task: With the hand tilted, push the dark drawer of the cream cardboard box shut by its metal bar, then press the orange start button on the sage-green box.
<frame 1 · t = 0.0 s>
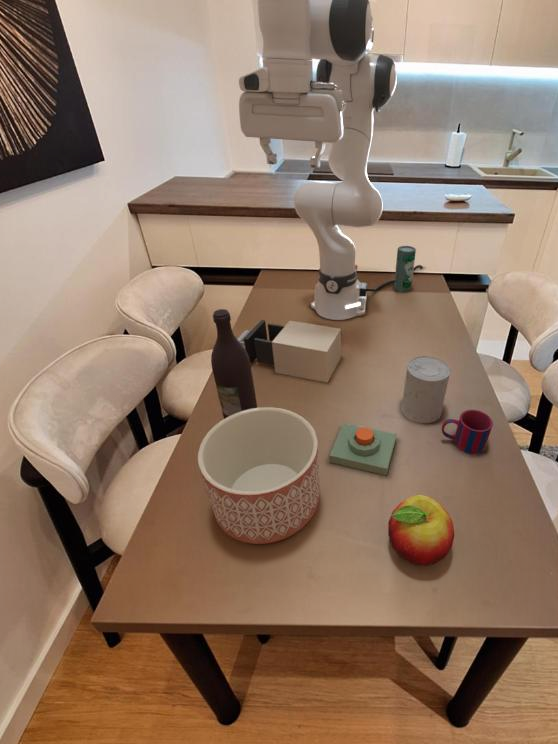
hand: (293, 165, 81), 48 cm above the table, tool pointing down, fingers open, 8 cm apart
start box: (363, 451, 85), on the table
fruit: (417, 545, 68), on the table
can: (402, 289, 149), on the table
start button: (364, 436, 82), point 4 cm above the table, slide at 0.1 cm
drawer: (270, 344, 108), point 5 cm above the table, slide at 7.0 cm
cream cardboard box: (308, 365, 109), on the table
planter: (268, 501, 74), on the table
wine bottle: (245, 436, 87), on the table
gray concrete cylinder: (421, 410, 96), on the table
mug: (461, 442, 88), on the table
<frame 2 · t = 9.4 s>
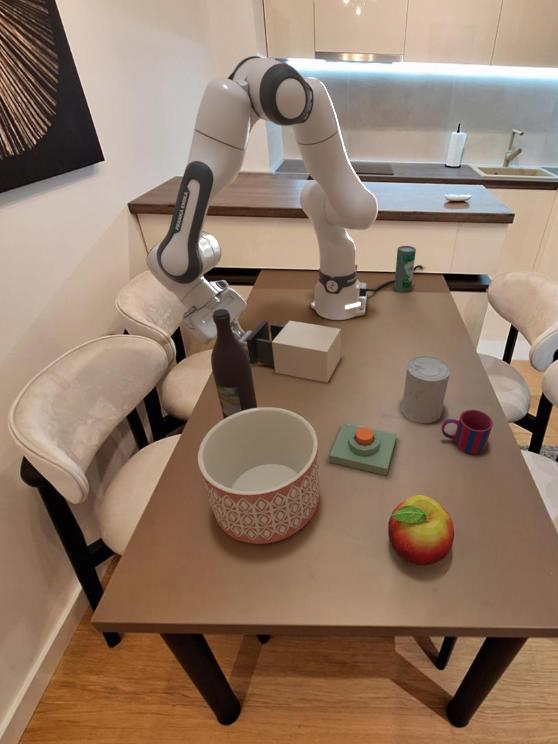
hand: (241, 337, 109), 5 cm above the table, tool tilted 45°, fingers closed, pressing on drawer
drawer: (272, 344, 108), point 5 cm above the table, slide at 6.3 cm, touching gripper
everything else where it was.
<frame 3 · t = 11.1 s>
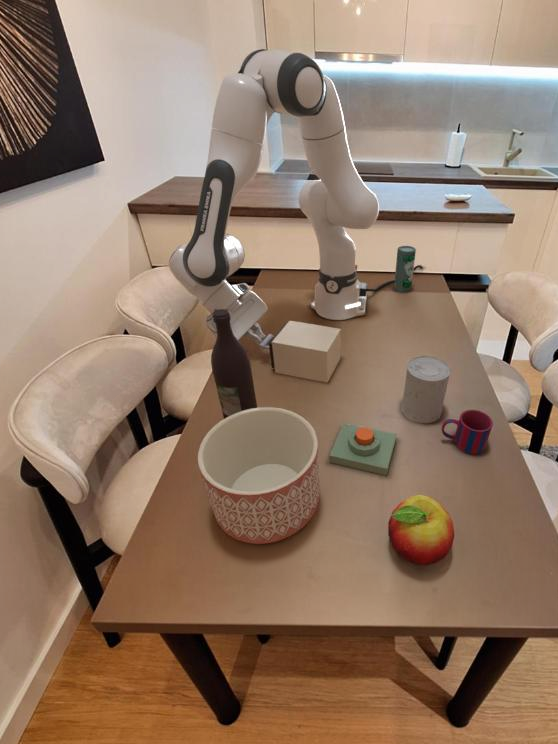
hand: (262, 340, 108), 5 cm above the table, tool tilted 45°, fingers closed, pressing on drawer
drawer: (294, 348, 106), point 5 cm above the table, slide at 0.0 cm, touching cream cardboard box, gripper
everything else where it was.
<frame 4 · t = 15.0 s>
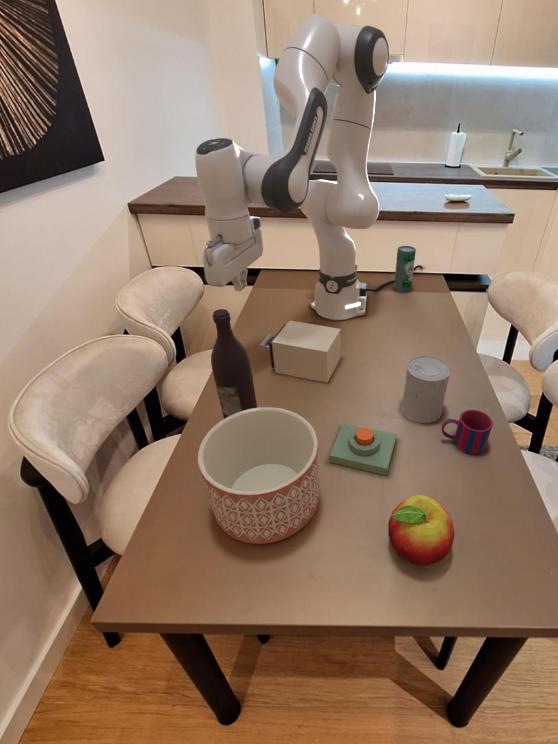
hand: (241, 288, 94), 22 cm above the table, tool pointing down, fingers closed
drawer: (294, 348, 106), point 5 cm above the table, slide at 0.0 cm, touching cream cardboard box
everything else where it was.
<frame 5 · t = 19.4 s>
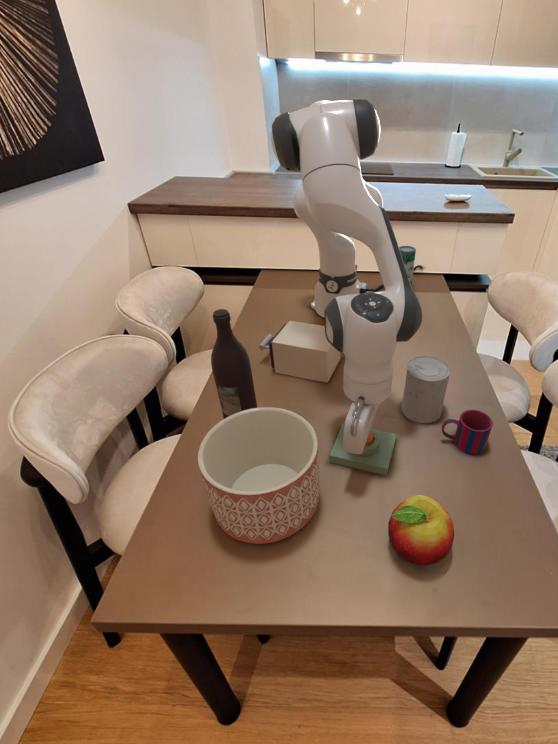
hand: (364, 435, 81), 5 cm above the table, tool pointing down, fingers closed, pressing on start button
start button: (364, 438, 82), point 4 cm above the table, slide at -0.5 cm, touching gripper
everything else where it was.
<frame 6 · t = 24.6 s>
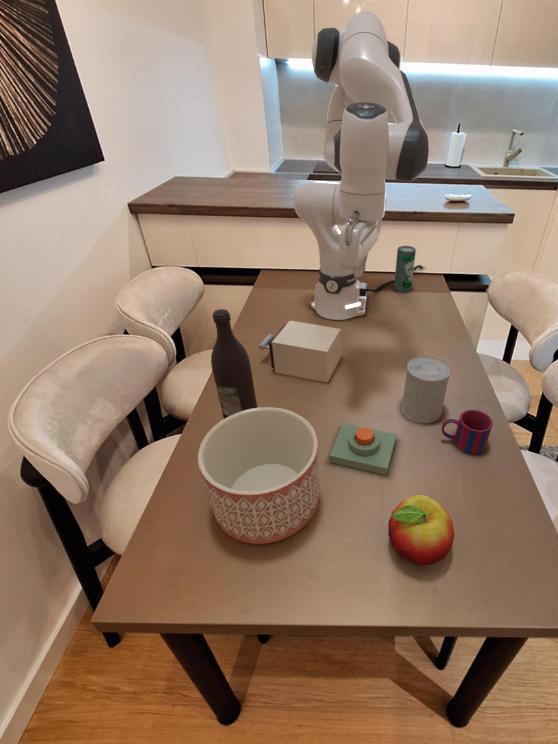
hand: (359, 274, 86), 29 cm above the table, tool pointing down, fingers closed
start button: (364, 436, 82), point 4 cm above the table, slide at 0.1 cm
everything else where it was.
at the end: drawer slide at 0.0 cm; start button pushed in 1.0 cm at the most during the clip, back to where it started at the end; start button slide at 0.1 cm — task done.
